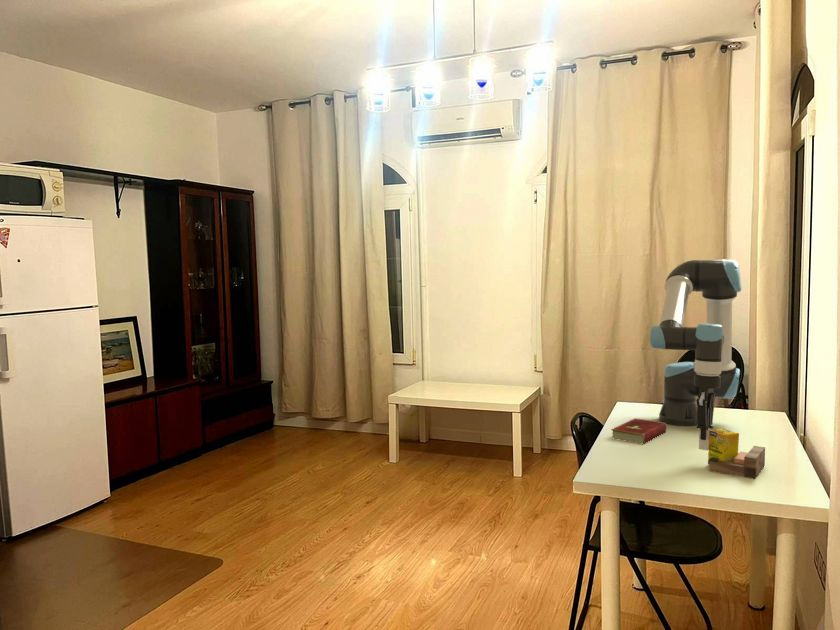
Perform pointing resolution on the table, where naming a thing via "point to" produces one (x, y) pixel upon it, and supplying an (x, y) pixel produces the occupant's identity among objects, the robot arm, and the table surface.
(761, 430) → the table surface
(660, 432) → the hardcover book
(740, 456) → the block
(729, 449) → the supplement box
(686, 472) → the table surface
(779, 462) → the table surface
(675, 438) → the table surface
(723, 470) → the dock
